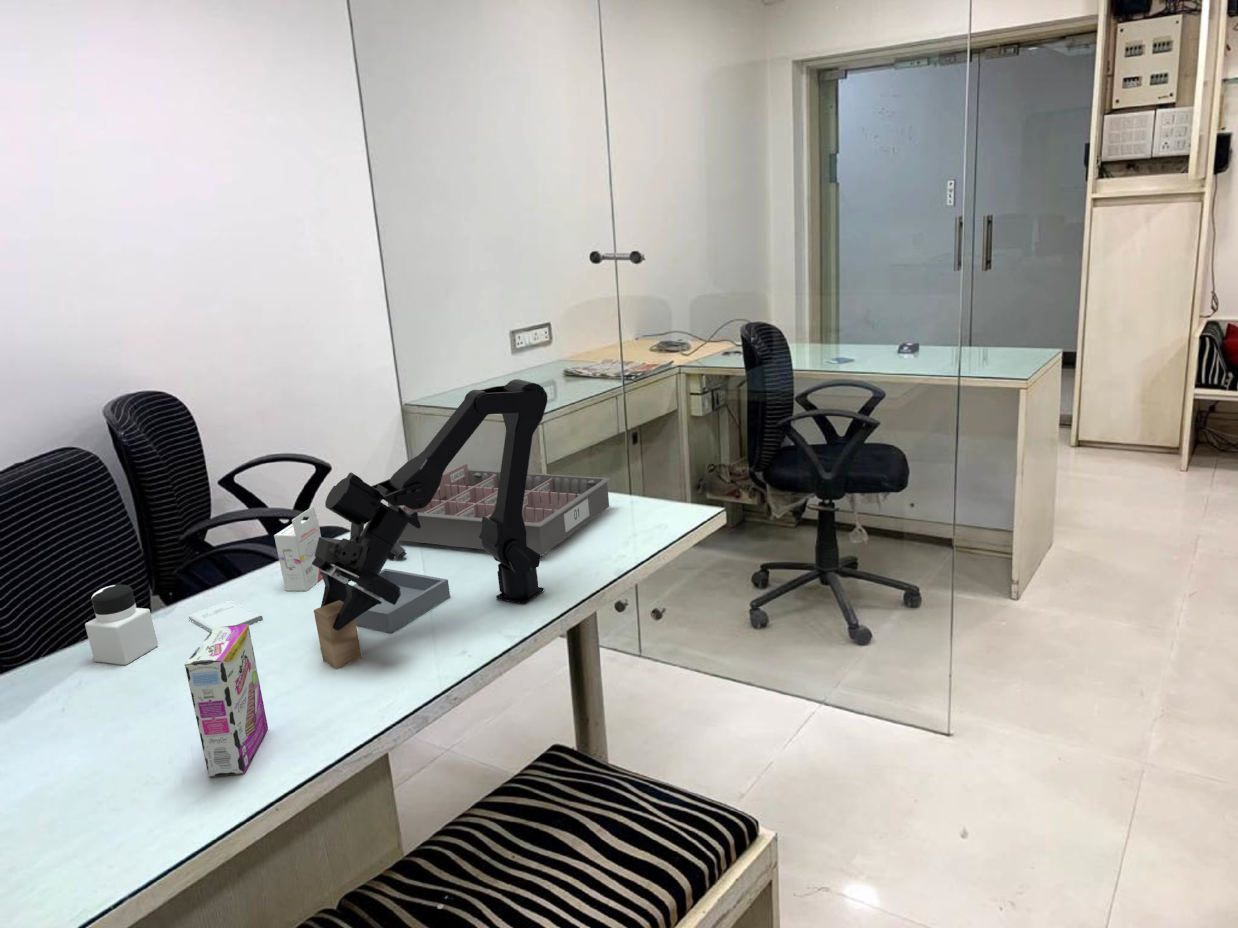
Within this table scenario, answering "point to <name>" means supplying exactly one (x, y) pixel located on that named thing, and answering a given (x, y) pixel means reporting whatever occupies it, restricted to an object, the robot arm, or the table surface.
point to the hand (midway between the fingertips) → (327, 625)
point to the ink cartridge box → (299, 552)
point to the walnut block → (336, 637)
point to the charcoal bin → (405, 600)
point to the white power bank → (225, 616)
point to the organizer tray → (473, 494)
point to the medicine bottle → (119, 627)
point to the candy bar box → (227, 699)
